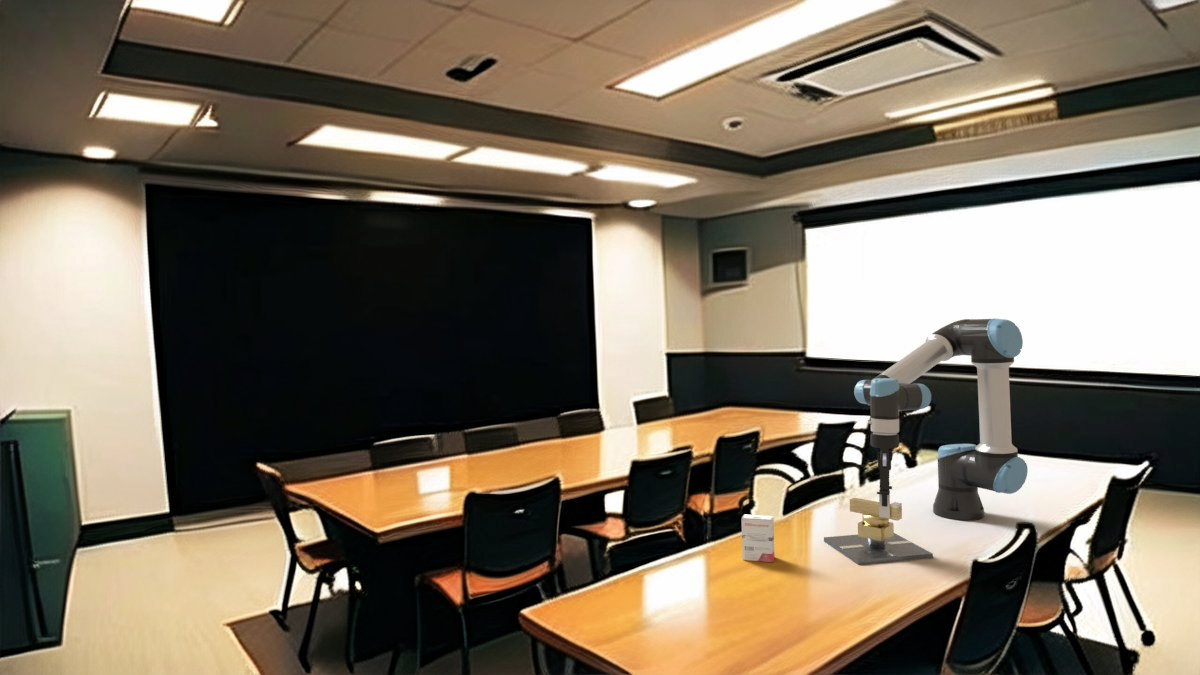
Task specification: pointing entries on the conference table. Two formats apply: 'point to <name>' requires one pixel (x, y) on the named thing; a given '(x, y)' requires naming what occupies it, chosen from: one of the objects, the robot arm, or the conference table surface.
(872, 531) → the collar
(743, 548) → the ink box
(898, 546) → the plate
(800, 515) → the conference table surface
